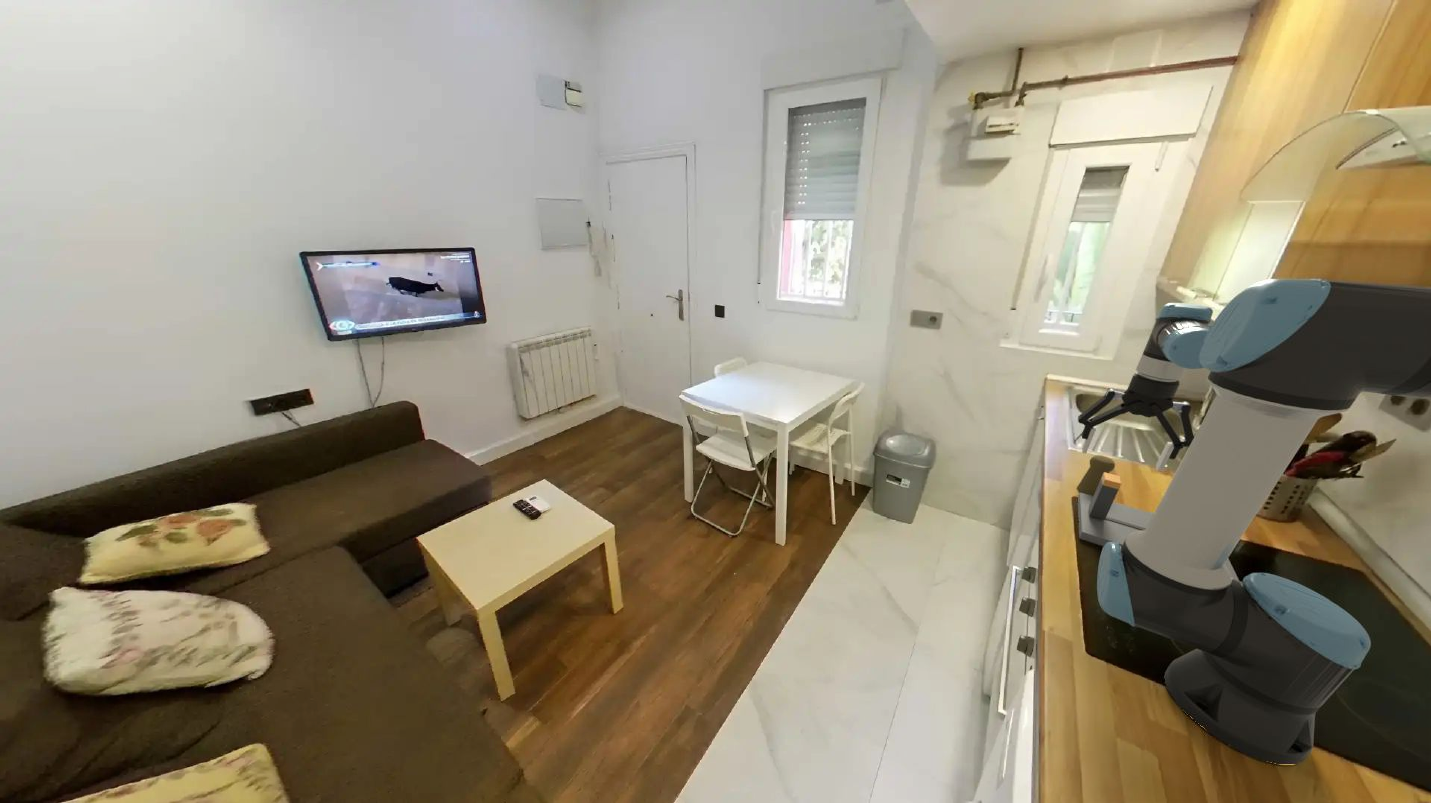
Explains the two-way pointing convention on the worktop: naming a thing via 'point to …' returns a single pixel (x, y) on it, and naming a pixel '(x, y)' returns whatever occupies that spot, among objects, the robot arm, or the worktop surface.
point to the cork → (1095, 474)
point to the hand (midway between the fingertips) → (1119, 459)
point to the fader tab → (1104, 495)
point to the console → (1115, 524)
